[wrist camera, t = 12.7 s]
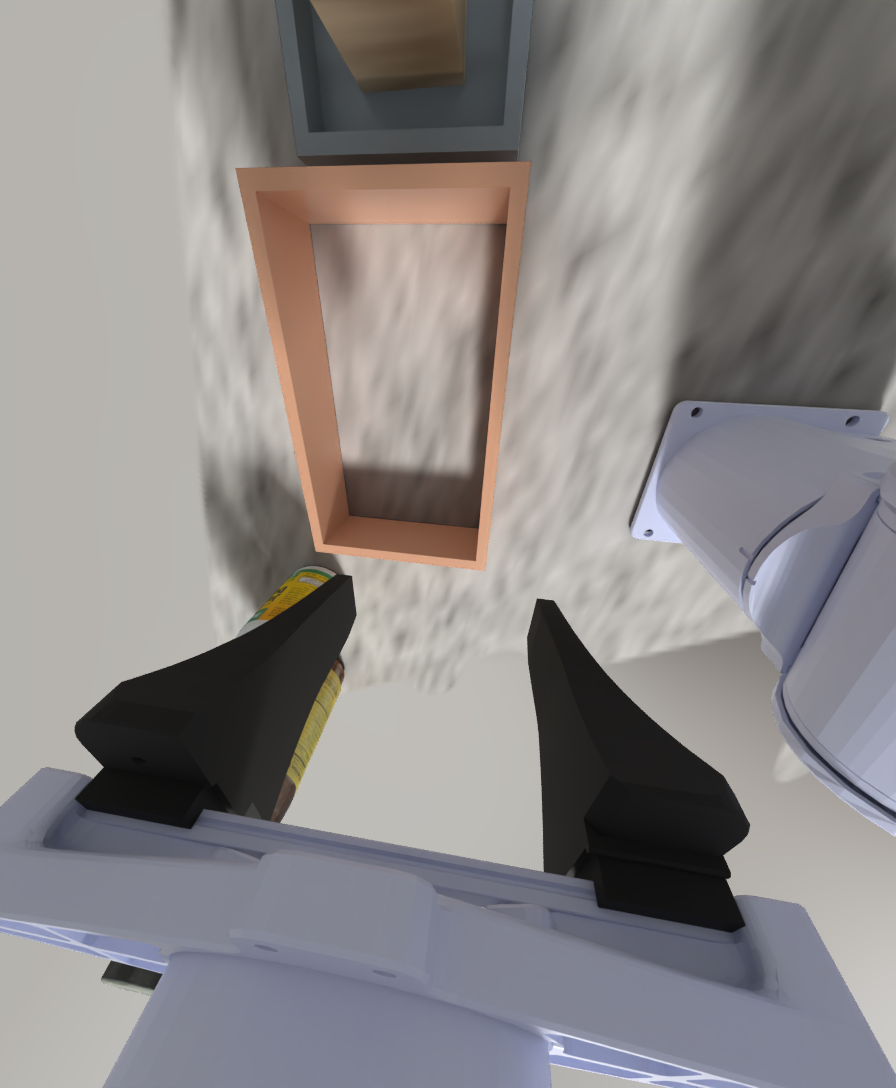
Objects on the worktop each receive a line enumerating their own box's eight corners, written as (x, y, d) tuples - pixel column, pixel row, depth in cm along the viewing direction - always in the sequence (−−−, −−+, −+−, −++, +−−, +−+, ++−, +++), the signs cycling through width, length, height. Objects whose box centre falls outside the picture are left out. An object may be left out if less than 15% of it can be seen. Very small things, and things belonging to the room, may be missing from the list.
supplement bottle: (342, 622, 30) (280, 727, 22) (286, 595, 29) (200, 693, 21) (362, 582, 27) (299, 686, 19) (300, 552, 26) (207, 645, 18)
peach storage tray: (525, 204, 14) (531, 161, 11) (488, 537, 23) (485, 570, 20) (294, 206, 15) (235, 168, 12) (342, 522, 24) (315, 551, 21)
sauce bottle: (295, 679, 35) (102, 983, 18) (283, 637, 32) (36, 963, 15) (354, 689, 35) (210, 1015, 18) (348, 648, 31) (166, 1000, 15)
